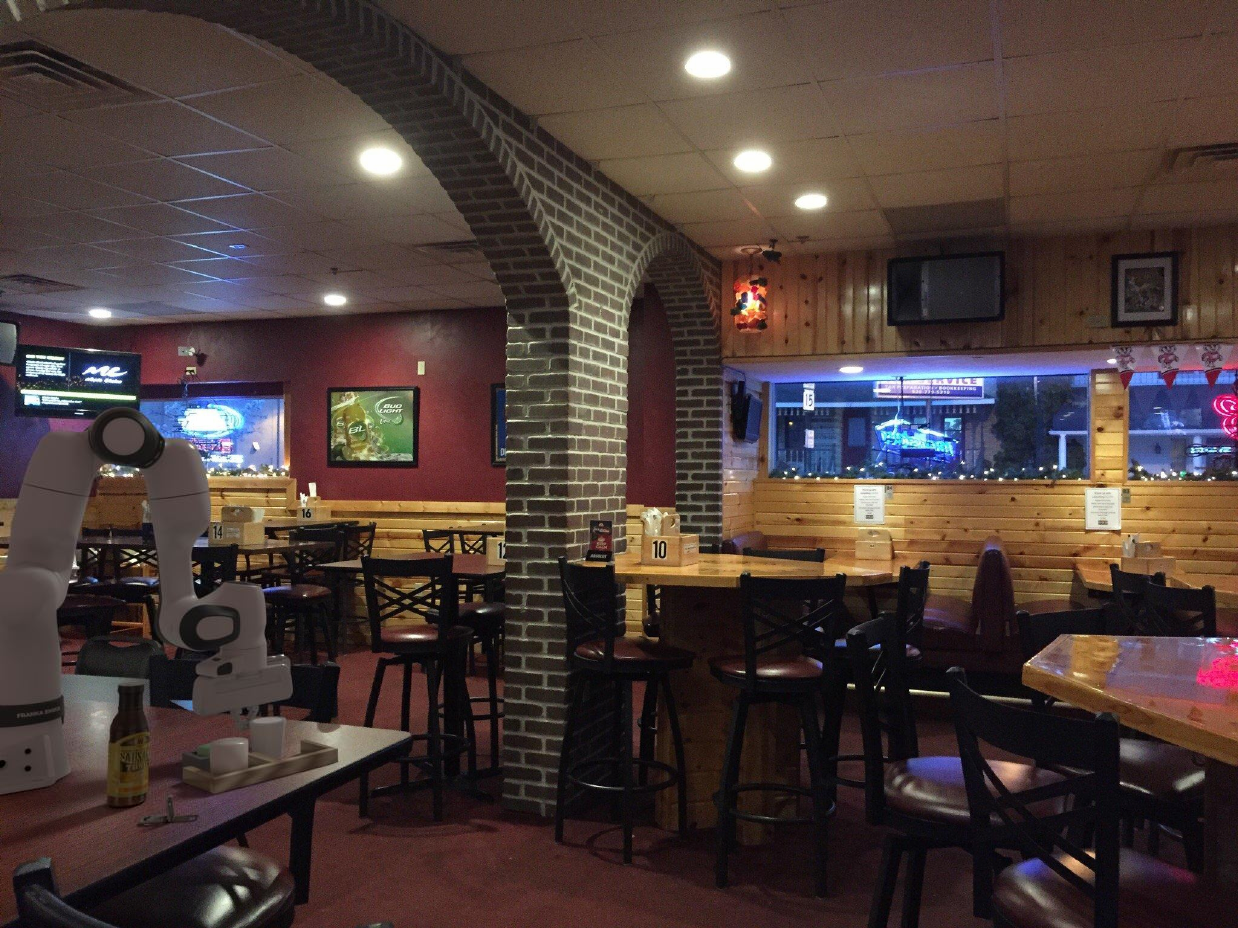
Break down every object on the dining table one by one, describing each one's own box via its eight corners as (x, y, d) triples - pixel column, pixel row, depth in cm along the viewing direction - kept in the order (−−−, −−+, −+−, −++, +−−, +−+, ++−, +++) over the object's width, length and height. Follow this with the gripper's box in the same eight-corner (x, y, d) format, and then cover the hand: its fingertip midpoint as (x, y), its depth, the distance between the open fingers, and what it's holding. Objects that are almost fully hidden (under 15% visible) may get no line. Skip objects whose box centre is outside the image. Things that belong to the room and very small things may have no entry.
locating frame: (214, 793, 172) (214, 779, 172) (182, 781, 179) (182, 767, 179) (337, 761, 191) (337, 748, 191) (304, 751, 198) (304, 739, 198)
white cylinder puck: (221, 788, 175) (221, 748, 175) (203, 781, 179) (203, 742, 179) (255, 780, 180) (255, 741, 180) (236, 773, 184) (236, 735, 184)
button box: (201, 777, 182) (201, 759, 182) (182, 770, 186) (182, 752, 186) (237, 768, 187) (237, 751, 187) (217, 761, 191) (217, 744, 191)
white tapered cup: (274, 761, 192) (274, 724, 192) (241, 759, 193) (242, 723, 193) (292, 751, 198) (293, 716, 199) (261, 749, 200) (261, 714, 200)
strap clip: (137, 828, 156) (138, 801, 156) (141, 821, 159) (142, 795, 159) (196, 823, 158) (196, 796, 158) (199, 817, 161) (199, 790, 161)
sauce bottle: (120, 811, 163) (121, 689, 163) (98, 804, 166) (99, 685, 167) (157, 800, 169) (157, 682, 169) (135, 794, 172) (136, 678, 172)
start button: (204, 765, 183) (204, 750, 183) (192, 761, 186) (192, 746, 186) (226, 760, 187) (227, 745, 187) (214, 756, 190) (214, 741, 190)
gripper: (281, 651, 212) (282, 716, 212) (187, 666, 196) (188, 737, 196) (298, 654, 208) (299, 720, 208) (203, 670, 192) (204, 742, 192)
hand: (244, 728), depth 202 cm, fingers closed
